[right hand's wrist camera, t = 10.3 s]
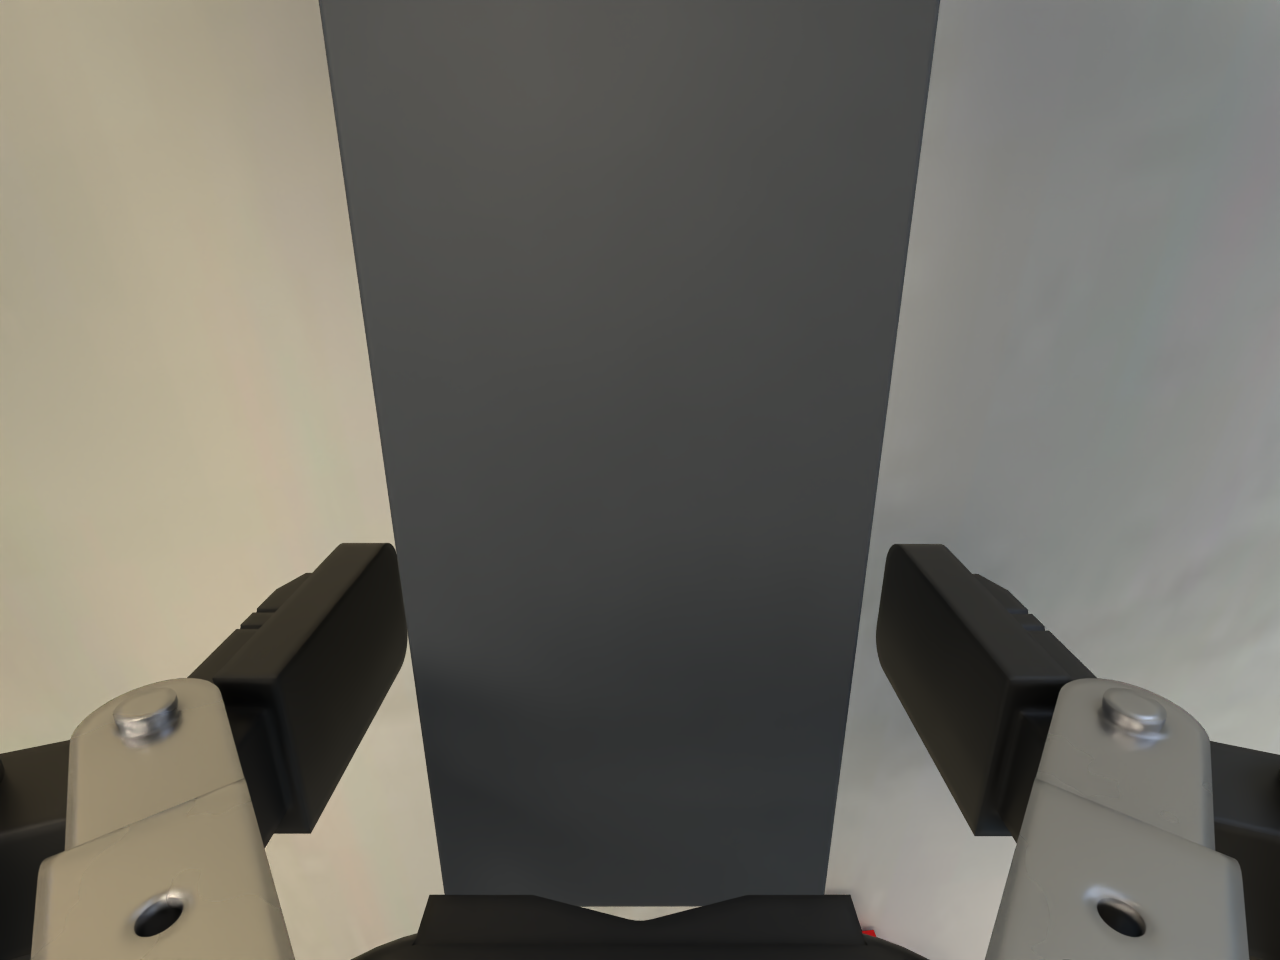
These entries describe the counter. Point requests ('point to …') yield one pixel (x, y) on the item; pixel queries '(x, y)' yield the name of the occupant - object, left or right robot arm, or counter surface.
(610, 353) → the bar
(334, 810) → the counter surface
